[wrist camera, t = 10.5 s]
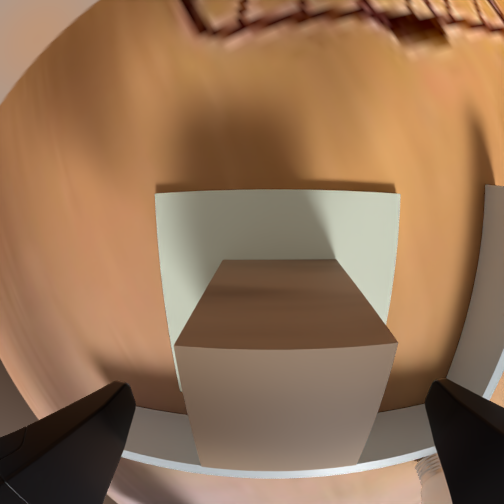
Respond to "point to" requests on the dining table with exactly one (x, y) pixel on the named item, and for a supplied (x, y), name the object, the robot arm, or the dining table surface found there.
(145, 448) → the plastic wall
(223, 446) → the walnut block
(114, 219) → the dining table surface
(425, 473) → the lightbulb
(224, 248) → the plate
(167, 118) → the dining table surface
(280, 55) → the dining table surface
